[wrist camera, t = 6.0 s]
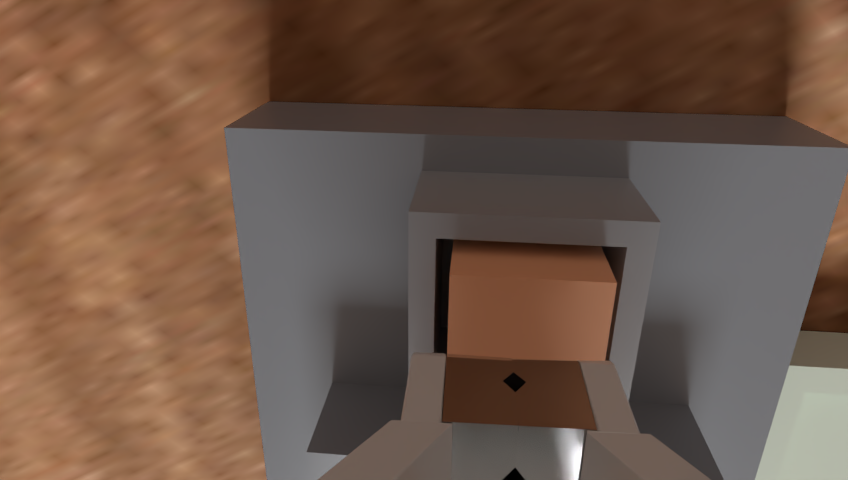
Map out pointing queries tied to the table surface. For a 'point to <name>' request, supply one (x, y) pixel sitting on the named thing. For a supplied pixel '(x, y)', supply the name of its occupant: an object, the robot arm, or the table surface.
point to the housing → (529, 223)
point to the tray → (811, 413)
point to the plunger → (529, 300)
